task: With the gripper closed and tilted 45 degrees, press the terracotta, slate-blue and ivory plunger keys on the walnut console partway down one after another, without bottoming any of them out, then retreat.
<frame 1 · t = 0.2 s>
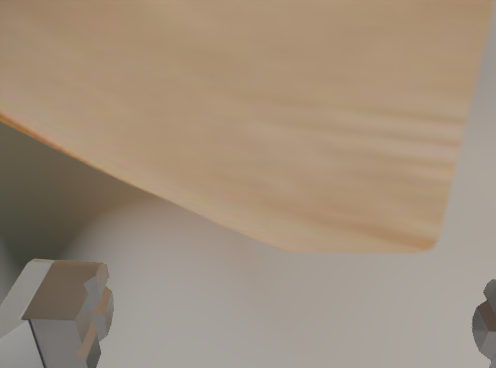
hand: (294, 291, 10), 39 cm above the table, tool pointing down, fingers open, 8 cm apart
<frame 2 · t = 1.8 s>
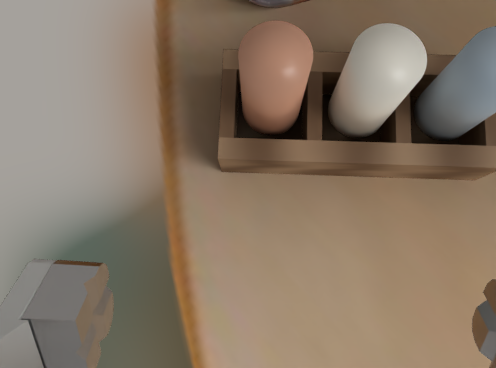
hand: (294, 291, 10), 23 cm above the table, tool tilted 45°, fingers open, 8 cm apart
key ivory: (370, 87, 28), point 7 cm above the table, slide at 0.0 cm
key slate: (468, 90, 28), point 7 cm above the table, slide at 0.0 cm
console: (347, 125, 35), on the table
key terracotta: (272, 85, 28), point 7 cm above the table, slide at 0.0 cm
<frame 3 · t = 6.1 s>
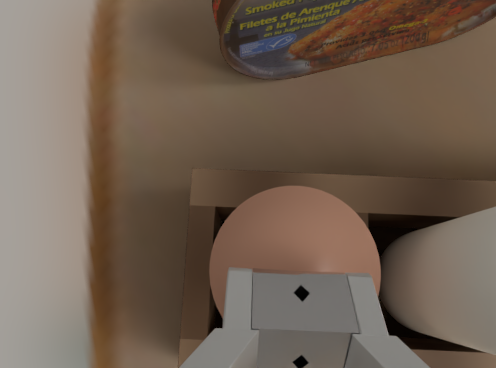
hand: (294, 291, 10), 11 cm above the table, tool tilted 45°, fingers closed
tin: (357, 36, 24), on the table
key ivory: (476, 281, 14), point 7 cm above the table, slide at 0.0 cm
console: (400, 281, 21), on the table
key terracotta: (282, 272, 14), point 7 cm above the table, slide at 0.4 cm, touching gripper
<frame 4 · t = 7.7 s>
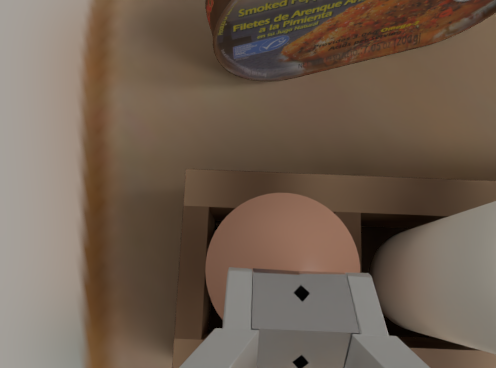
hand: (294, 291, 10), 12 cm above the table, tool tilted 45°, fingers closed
tin: (350, 38, 24), on the table
key ivory: (467, 278, 14), point 7 cm above the table, slide at 0.0 cm
console: (393, 280, 21), on the table
key terracotta: (273, 272, 16), point 6 cm above the table, slide at 1.4 cm
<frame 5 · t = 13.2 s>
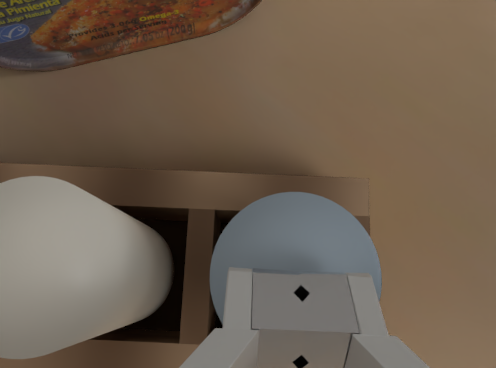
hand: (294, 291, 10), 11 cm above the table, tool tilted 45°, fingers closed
tin: (131, 28, 24), on the table
key ivory: (89, 268, 14), point 7 cm above the table, slide at 0.0 cm
key slate: (282, 277, 14), point 7 cm above the table, slide at 0.6 cm, touching gripper
console: (142, 272, 21), on the table
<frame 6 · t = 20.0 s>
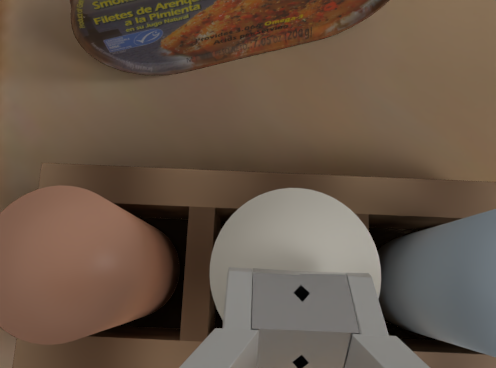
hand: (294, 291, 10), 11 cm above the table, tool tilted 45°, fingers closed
tin: (244, 32, 24), on the table
key ivory: (282, 274, 14), point 7 cm above the table, slide at 0.5 cm
key slate: (457, 282, 15), point 6 cm above the table, slide at 1.4 cm
console: (271, 276, 21), on the table
key terracotta: (104, 267, 15), point 6 cm above the table, slide at 1.4 cm
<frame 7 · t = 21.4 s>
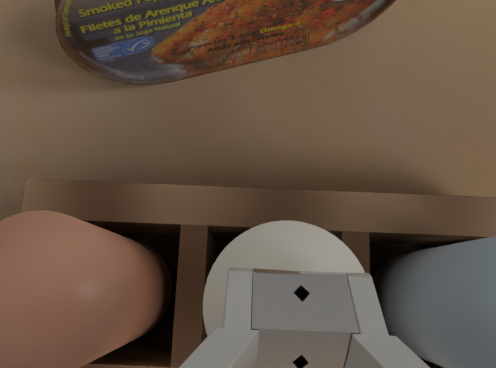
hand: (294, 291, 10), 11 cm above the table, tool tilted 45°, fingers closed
tin: (239, 39, 23), on the table
key ivory: (276, 299, 15), point 6 cm above the table, slide at 1.4 cm
key slate: (463, 306, 15), point 6 cm above the table, slide at 1.4 cm
console: (267, 294, 20), on the table
key terracotta: (89, 291, 15), point 6 cm above the table, slide at 1.4 cm
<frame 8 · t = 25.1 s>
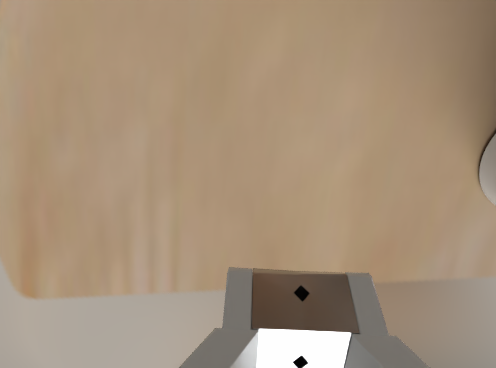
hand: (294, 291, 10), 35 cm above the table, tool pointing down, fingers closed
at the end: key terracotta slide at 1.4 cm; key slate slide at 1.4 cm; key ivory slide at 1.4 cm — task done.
